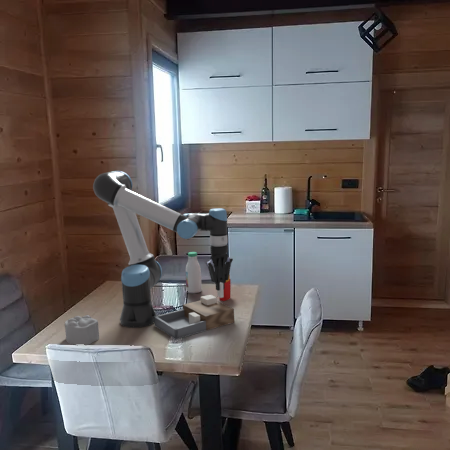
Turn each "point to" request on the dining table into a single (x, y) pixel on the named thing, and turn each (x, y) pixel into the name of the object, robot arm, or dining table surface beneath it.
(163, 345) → the dining table surface
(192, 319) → the front tile
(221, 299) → the french fries
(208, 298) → the back tile
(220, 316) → the walnut platform
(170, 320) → the box
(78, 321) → the knobbly-topped grey block
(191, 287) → the milk bottle
